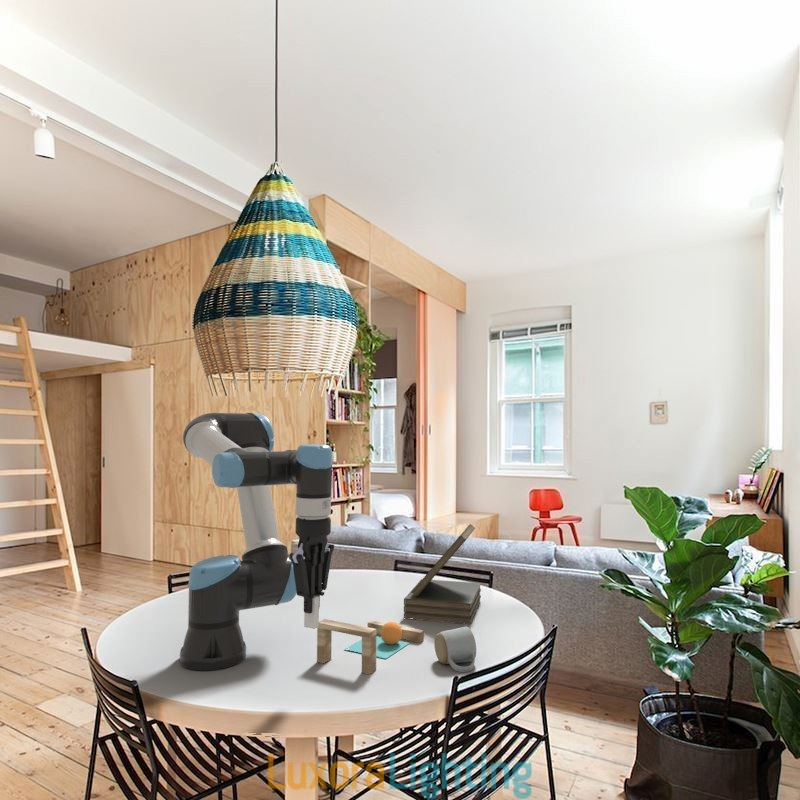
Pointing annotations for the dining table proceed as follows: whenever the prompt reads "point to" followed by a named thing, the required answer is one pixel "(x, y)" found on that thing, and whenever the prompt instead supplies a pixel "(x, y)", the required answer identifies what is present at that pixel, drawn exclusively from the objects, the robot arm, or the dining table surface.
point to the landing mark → (380, 648)
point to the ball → (391, 633)
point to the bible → (444, 593)
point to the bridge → (365, 632)
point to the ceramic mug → (456, 648)
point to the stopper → (406, 632)
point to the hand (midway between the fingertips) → (311, 626)
